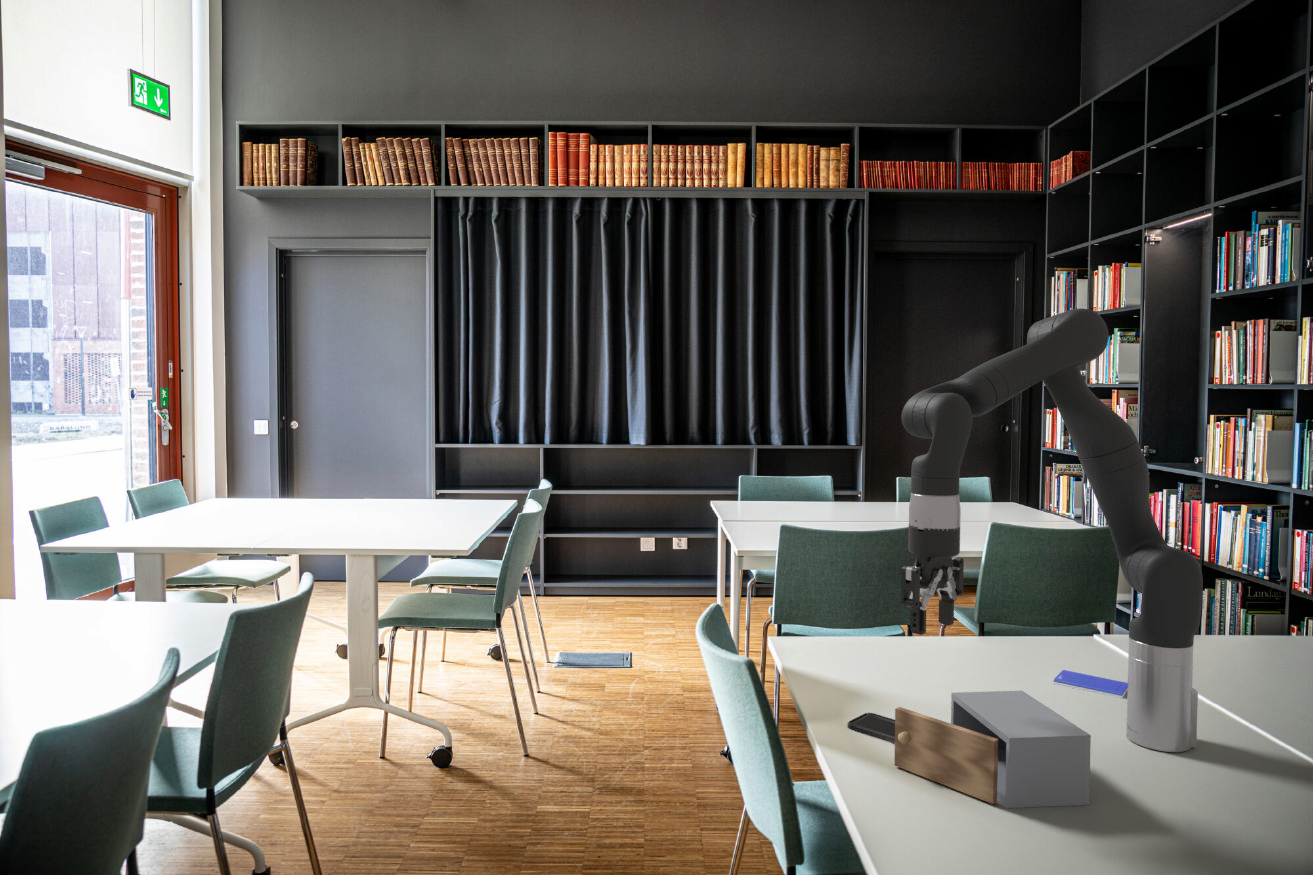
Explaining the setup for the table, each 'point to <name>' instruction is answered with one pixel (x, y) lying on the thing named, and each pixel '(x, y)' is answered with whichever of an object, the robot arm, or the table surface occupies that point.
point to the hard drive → (1091, 683)
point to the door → (947, 754)
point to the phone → (874, 726)
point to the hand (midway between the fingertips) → (932, 628)
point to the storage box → (1029, 748)
